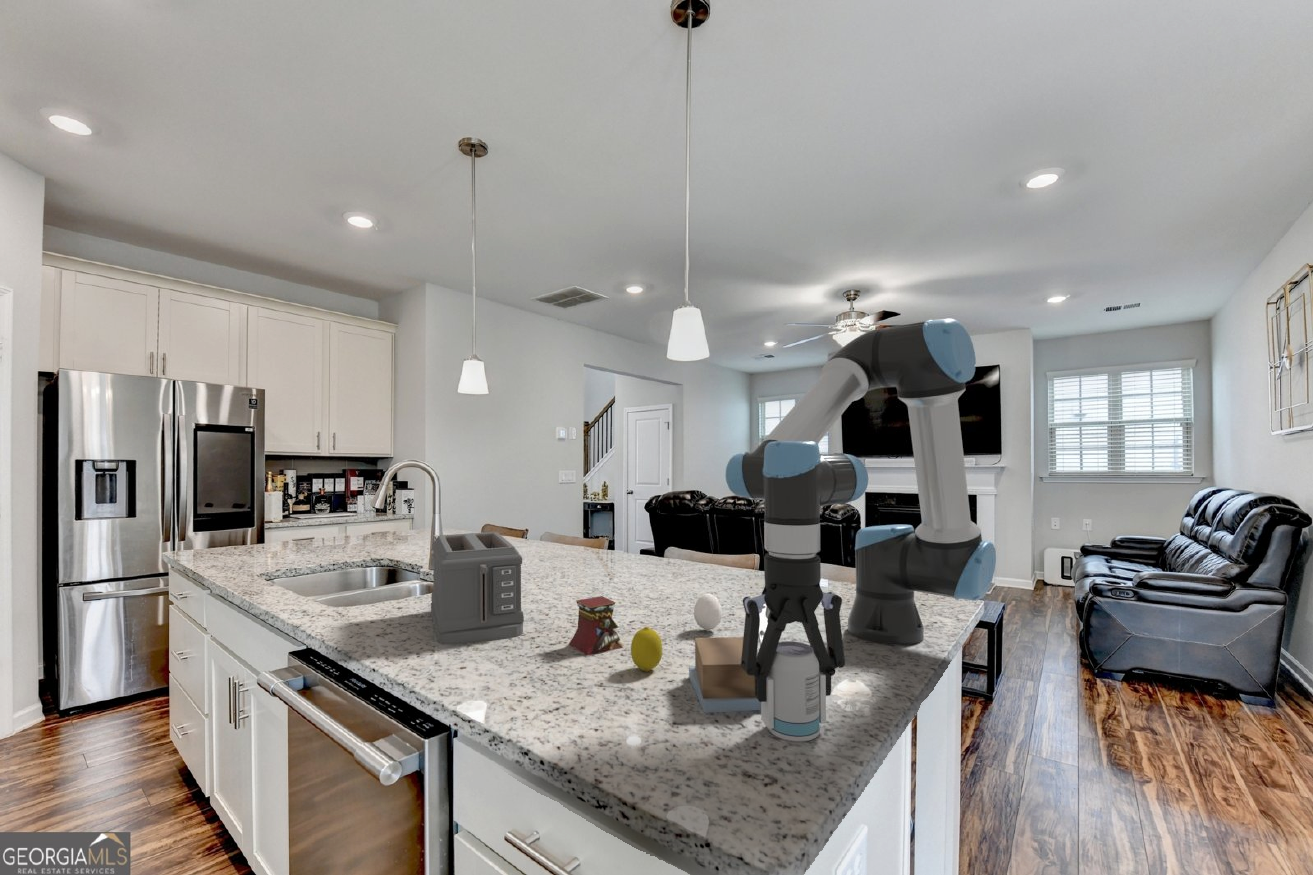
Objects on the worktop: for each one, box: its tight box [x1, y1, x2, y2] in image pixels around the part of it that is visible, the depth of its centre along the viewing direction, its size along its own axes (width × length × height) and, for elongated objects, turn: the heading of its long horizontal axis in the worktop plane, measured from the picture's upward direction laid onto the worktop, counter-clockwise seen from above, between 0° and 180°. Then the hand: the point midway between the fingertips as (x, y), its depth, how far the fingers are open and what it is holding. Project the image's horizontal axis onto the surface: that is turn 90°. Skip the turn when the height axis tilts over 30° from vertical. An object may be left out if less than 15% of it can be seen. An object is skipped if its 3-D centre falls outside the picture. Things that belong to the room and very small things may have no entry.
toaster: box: [430, 531, 525, 646], centre depth 131 cm, size 17×31×19 cm, turn 24°
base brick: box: [688, 665, 761, 714], centre depth 93 cm, size 10×14×3 cm
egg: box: [693, 593, 723, 631], centre depth 127 cm, size 6×6×8 cm
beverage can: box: [768, 640, 821, 743], centre depth 80 cm, size 7×7×12 cm
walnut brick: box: [694, 636, 758, 699], centre depth 93 cm, size 9×12×5 cm
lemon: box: [630, 626, 663, 672], centre depth 103 cm, size 6×6×8 cm
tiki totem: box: [568, 595, 624, 656], centre depth 116 cm, size 9×9×9 cm
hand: (793, 721), depth 80 cm, fingers closed on beverage can, 7 cm apart
